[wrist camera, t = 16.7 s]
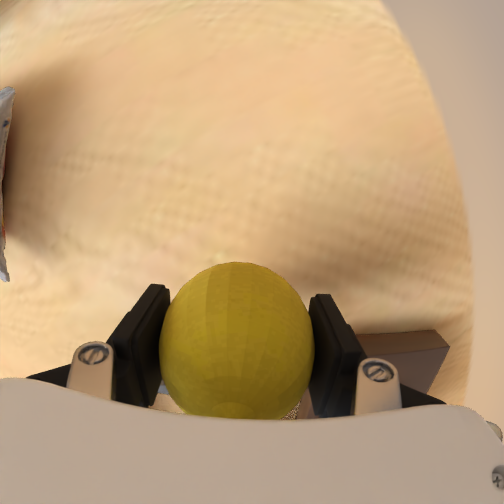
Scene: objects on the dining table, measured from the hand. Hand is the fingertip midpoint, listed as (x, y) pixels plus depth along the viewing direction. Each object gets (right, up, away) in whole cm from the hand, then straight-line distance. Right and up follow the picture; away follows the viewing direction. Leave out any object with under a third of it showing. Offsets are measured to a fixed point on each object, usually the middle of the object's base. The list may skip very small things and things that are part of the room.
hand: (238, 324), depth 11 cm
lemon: (0, +1, +3) cm, 3 cm away
